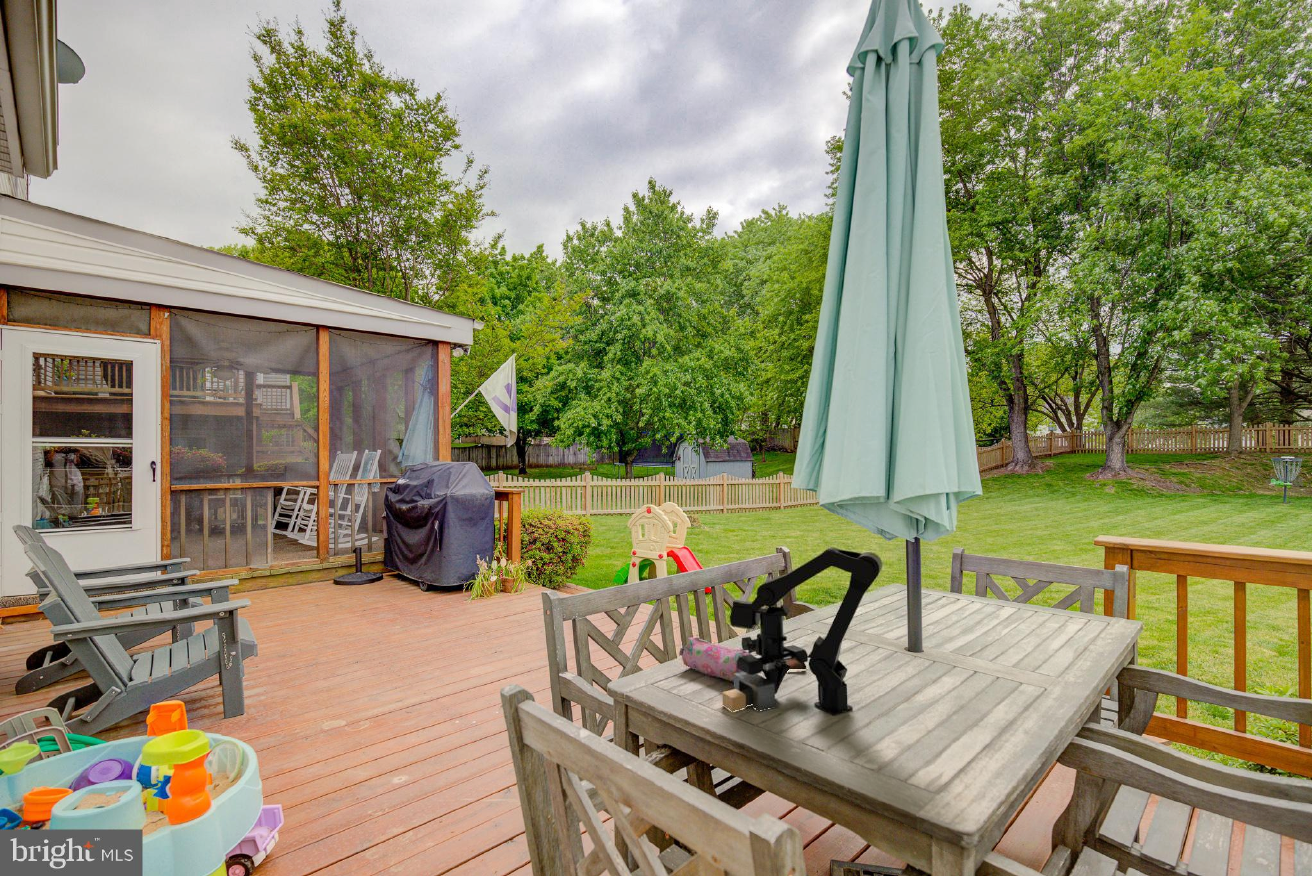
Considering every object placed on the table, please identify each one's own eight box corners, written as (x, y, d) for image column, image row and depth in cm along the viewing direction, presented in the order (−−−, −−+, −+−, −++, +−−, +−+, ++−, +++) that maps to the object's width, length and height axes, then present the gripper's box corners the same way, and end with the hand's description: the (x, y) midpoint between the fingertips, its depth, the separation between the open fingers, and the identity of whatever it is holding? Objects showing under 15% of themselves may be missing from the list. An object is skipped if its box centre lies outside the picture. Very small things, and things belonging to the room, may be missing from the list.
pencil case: (678, 670, 161) (677, 638, 161) (699, 662, 167) (699, 632, 167) (737, 691, 145) (736, 656, 146) (758, 681, 151) (757, 647, 152)
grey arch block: (775, 707, 135) (774, 683, 135) (758, 712, 132) (758, 687, 133) (750, 693, 144) (749, 670, 144) (734, 697, 141) (733, 673, 142)
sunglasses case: (755, 653, 173) (765, 633, 174) (774, 663, 174) (784, 643, 175) (779, 674, 156) (790, 652, 157) (799, 685, 157) (810, 663, 157)
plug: (774, 700, 138) (774, 686, 139) (732, 713, 132) (732, 698, 132) (764, 695, 142) (763, 681, 142) (722, 706, 136) (722, 692, 136)
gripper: (779, 618, 153) (781, 675, 152) (723, 628, 144) (725, 690, 144) (808, 628, 143) (810, 690, 142) (749, 640, 135) (751, 706, 134)
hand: (773, 693), depth 141 cm, fingers closed
